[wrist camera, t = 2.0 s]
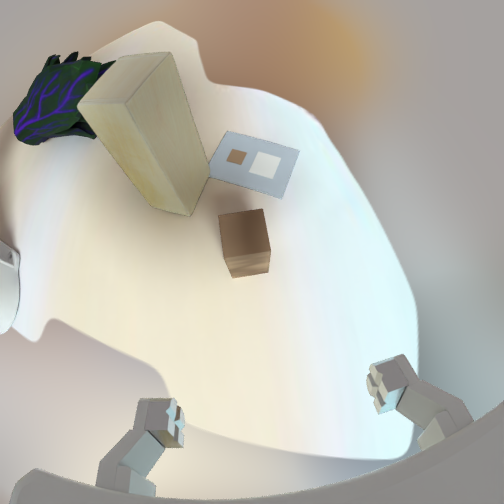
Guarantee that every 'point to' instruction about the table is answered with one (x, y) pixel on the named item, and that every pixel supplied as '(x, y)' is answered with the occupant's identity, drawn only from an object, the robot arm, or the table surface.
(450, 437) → the robot arm
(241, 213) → the walnut block
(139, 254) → the table surface
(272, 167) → the page
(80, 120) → the decorative plant
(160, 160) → the tall cream box
